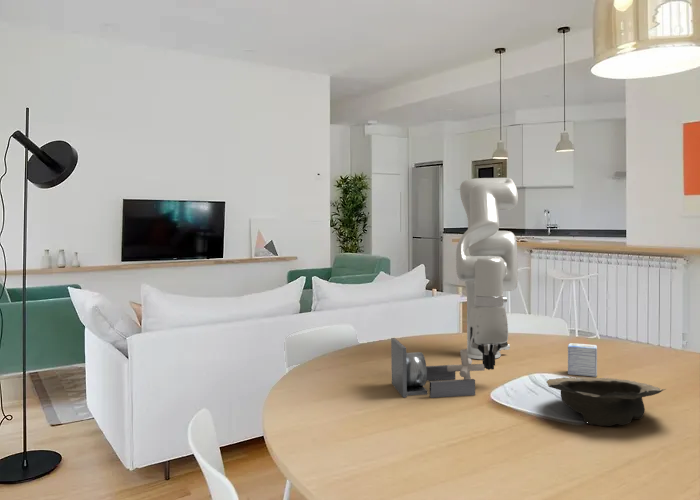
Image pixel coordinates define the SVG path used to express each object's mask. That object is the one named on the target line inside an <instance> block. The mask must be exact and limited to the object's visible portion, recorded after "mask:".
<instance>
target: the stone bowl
mask: <svg viewBox="0 0 700 500" xmlns="http://www.w3.org/2000/svg"><path fill="white" fill-rule="evenodd" d="M546 384H547V387H549V388H552V389H556V390H558V391H560V398H561V400H562V402H563V404H565V406H567V407H570V409H572V411H573V412H576V413H579V414H581V415H582V419H583V421H584V423H585V422H588V423H586V424H588V425H590V426H591V425H593V426H594V425H597V426H600V427H601V426H602V427H603V426H606V427H609V426H615V425H621V426H623V425H626V424H627V425H628V424H630V423H631V422H632V420H640V419H642V418H643V417H644V414H645V410H646V409H645V404H644V399H643V398H645V397H651V396H654V395H657V394H660V393H662V392H663V391H665V390H666V388H663V389H661V388H660V387H657V386H653V385H651V384H647V383H645V382H644V383H642V382H639V381H635V380H634V381H632V380H628V379H620V378H619V379H618V378H611V377H610V378H609V377H607V378H606V377H592V376H579V377H578V376H577V377H576V376H575V377H572V376H570V377H560V378H559V377H558V378H553V379H552V378H551V379H547V381H546Z"/></svg>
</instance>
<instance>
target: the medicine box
mask: <svg viewBox="0 0 700 500" xmlns="http://www.w3.org/2000/svg"><path fill="white" fill-rule="evenodd" d="M567 375H574V376H581V377H592V378H598V377H597V376H598V346H597V344H586V343H575V342H574V343H568V345H567Z"/></svg>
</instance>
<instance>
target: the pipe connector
mask: <svg viewBox="0 0 700 500" xmlns="http://www.w3.org/2000/svg"><path fill="white" fill-rule="evenodd" d="M466 349H467V348H466ZM466 349H464V348H462V349H460V350H459V354H460V360H461V361H460V362H461V364H446V365H447V370H448V372H450V371H455V372H459V376H460V377H462V378H463V379H472V377H471V372H475V371H476V372H477V371H478V372H482V371H485V369H486V368H485V366H484V364H483V363H474V364H473V361H472V358H468V356H467V350H466Z"/></svg>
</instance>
